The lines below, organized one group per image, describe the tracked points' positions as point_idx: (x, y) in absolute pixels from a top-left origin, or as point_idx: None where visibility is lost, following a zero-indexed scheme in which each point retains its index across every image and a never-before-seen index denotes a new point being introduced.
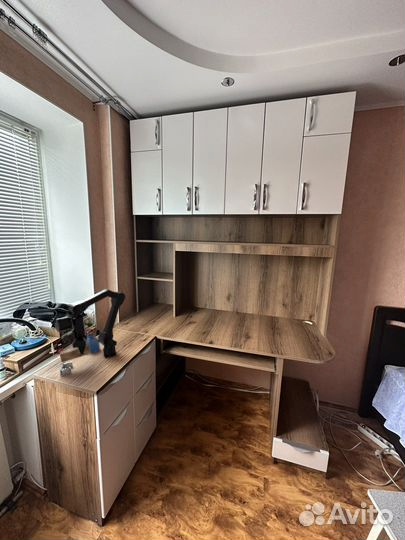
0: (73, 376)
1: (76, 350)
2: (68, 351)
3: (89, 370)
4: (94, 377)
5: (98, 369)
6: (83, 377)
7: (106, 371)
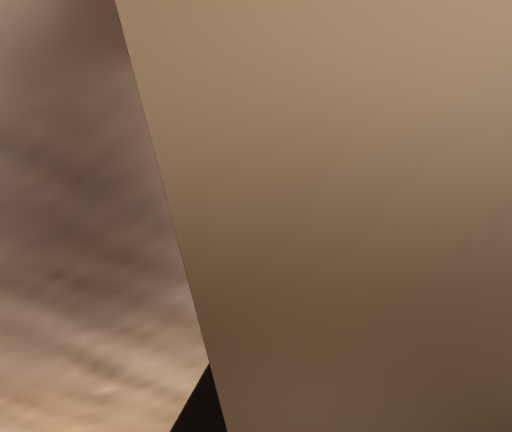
0: (62, 102)
1: (219, 368)
2: (235, 9)
3: (166, 262)
4: (5, 331)
5: (159, 339)
6: (18, 231)
7: (99, 401)
